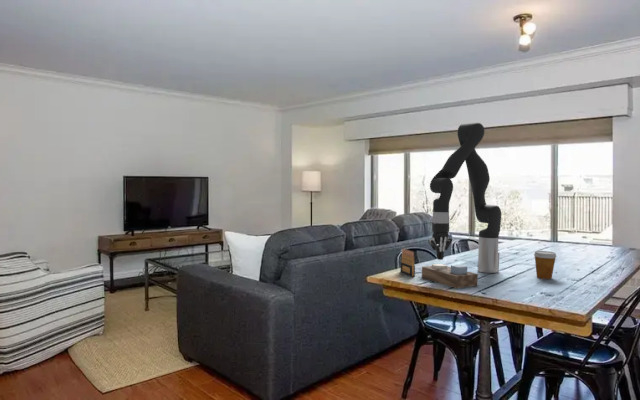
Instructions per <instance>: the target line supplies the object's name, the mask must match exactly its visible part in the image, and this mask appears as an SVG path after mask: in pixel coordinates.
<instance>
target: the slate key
mask: <svg viewBox="0 0 640 400" xmlns="http://www.w3.org/2000/svg"><path fill="white" fill-rule="evenodd" d="M450 267H451V273H454V274H458V275H461V274H467V271H468V266H466V265H462V264H454V265H453V264H452V265H450Z"/></svg>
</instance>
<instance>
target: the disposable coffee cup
mask: <svg viewBox="0 0 640 400" xmlns="http://www.w3.org/2000/svg"><path fill="white" fill-rule="evenodd" d="M533 255H534V259H535V262H534V263H535V271H536V278H538V279H543V280H551V278H553V273H554V268H555V263H556V258H557V254H556V252H553V251H548V250H546V251H545V250H536V251H535V250H534V253H533Z"/></svg>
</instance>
